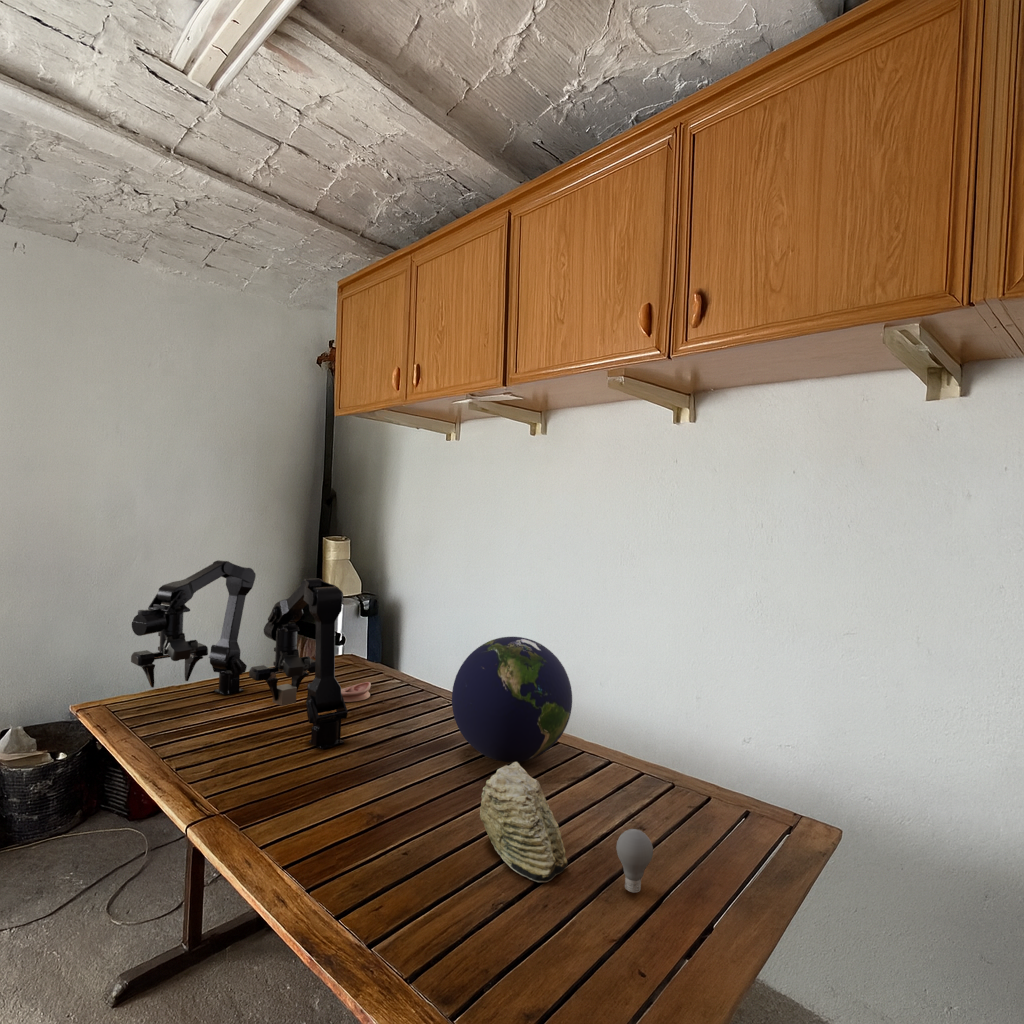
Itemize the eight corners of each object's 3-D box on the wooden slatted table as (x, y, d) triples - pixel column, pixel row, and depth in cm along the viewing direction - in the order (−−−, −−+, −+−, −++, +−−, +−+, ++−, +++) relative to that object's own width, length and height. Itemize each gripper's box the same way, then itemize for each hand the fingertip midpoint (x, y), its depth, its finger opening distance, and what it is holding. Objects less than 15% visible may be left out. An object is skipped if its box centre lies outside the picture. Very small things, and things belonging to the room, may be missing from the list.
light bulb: (610, 879, 108) (613, 822, 108) (644, 879, 109) (647, 822, 109) (619, 902, 102) (622, 840, 102) (655, 901, 103) (658, 840, 103)
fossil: (501, 827, 124) (504, 751, 124) (575, 868, 111) (578, 784, 111) (467, 843, 118) (470, 763, 118) (541, 889, 105) (545, 799, 105)
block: (272, 702, 183) (272, 686, 183) (286, 698, 186) (287, 683, 186) (281, 706, 180) (282, 690, 180) (296, 702, 183) (296, 687, 183)
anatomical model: (319, 687, 195) (337, 677, 207) (319, 699, 195) (336, 689, 207) (359, 691, 193) (375, 681, 204) (359, 704, 193) (374, 693, 204)
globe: (497, 727, 179) (502, 621, 178) (591, 755, 161) (596, 638, 161) (424, 759, 155) (429, 637, 154) (524, 797, 137) (530, 659, 137)
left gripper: (147, 638, 167) (145, 697, 167) (217, 629, 181) (215, 683, 182) (131, 631, 174) (129, 688, 175) (200, 623, 189) (198, 675, 189)
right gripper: (264, 655, 170) (262, 712, 171) (329, 646, 183) (327, 700, 183) (249, 646, 179) (247, 701, 179) (312, 639, 191) (310, 690, 191)
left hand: (169, 684), depth 180 cm, fingers open, 9 cm apart
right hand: (284, 698), depth 183 cm, fingers closed on block, 5 cm apart
